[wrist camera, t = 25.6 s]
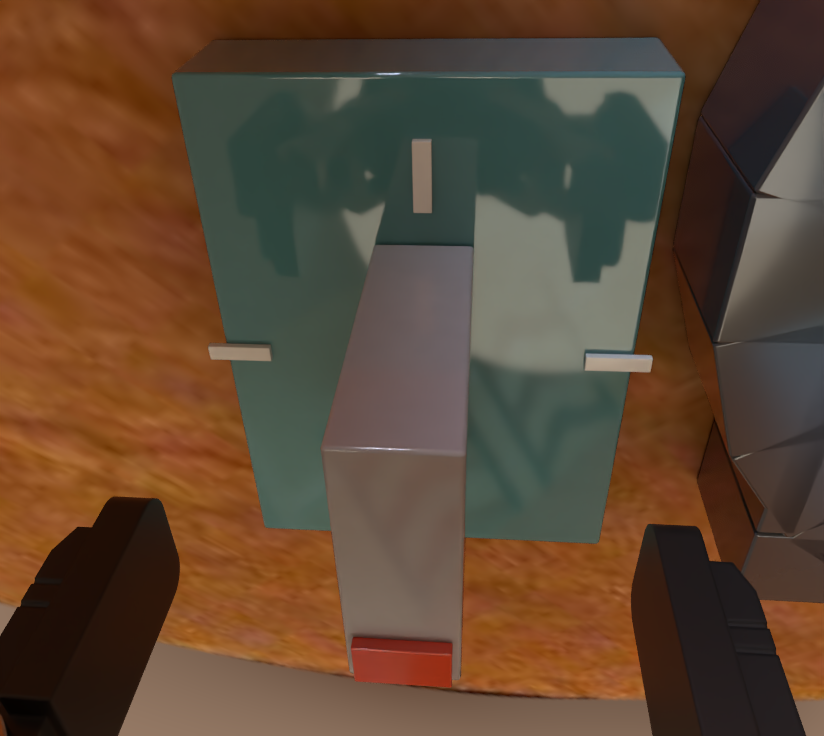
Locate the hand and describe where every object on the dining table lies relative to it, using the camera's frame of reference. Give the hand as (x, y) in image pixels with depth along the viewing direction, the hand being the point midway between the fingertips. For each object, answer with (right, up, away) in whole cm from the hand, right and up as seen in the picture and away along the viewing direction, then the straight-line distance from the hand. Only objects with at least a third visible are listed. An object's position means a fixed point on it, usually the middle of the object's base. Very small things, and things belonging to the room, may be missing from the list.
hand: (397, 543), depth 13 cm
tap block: (+1, +5, +6) cm, 8 cm away
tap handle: (+1, +3, +4) cm, 5 cm away
